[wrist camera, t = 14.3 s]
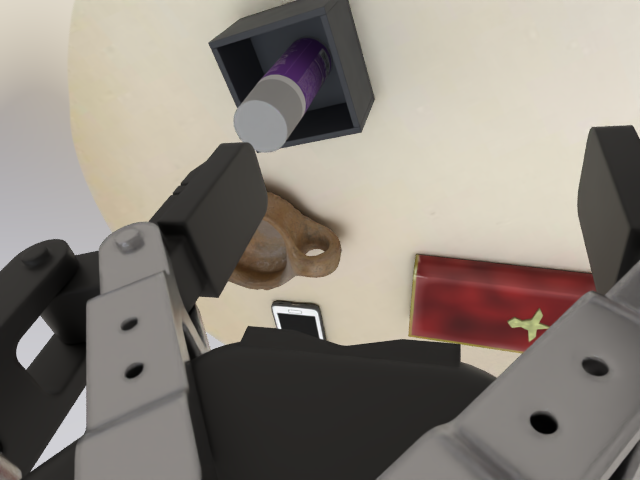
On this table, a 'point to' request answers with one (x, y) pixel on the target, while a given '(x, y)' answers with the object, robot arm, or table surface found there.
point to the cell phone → (299, 318)
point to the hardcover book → (489, 301)
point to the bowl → (286, 248)
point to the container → (283, 95)
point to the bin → (271, 43)
